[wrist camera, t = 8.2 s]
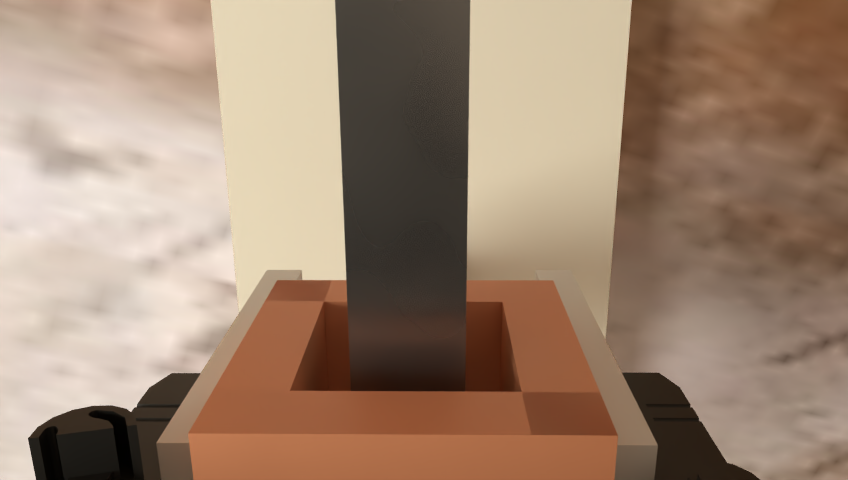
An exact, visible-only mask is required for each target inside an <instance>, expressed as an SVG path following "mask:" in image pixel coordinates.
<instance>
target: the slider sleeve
mask: <svg viewBox="0 0 848 480" xmlns="http://www.w3.org/2000/svg"><path fill="white" fill-rule="evenodd" d="M188 438H189V446H190V454H191V463H192V471H193V479H194V480H614V478H615V466H616V455H617V443H618V434H617V432H616V429H615V427H614V425H613V422H612V420H611V417H610V415H609V413H608V410H607V408H606V405H605V403H604V401H603V398H602V396H601V393H600V391H599V389H598V386H597V384H596V381H595V379H594V377H593V374H592V372H591V369H590V367H589V365H588V362H587V360H586V358H585V355H584V353H583V350H582V348H581V346H580V343H579V341H578V338H577V336H576V334H575V331H574V329H573V326H572V324H571V322H570V319H569V317H568V314H567V312H566V310H565V307H564V305H563V302H562V300H561V298H560V295H559V293H558V290H557V288H556V286H555V283H554V281H553V280H467V292H466V370H465V392H462V391H351V381H350V357H349V332H348V308H347V283H346V280H277V281H276V283H275V285H274V286H273V288H272V290H271V292H270V293H269V295H268V297H267V298H266V300H265V302H264V304H263V305H262V307H261V309H260V311H259V312H258V314H257V316H256V317H255V319H254V321H253V323H252V324H251V326H250V328H249V329H248V331H247V333H246V335H245V336H244V338H243V340H242V341H241V343H240V345H239V347H238V348H237V350H236V352H235V354H234V355H233V357H232V359H231V360H230V362H229V364H228V366H227V367H226V369H225V371H224V372H223V374H222V376H221V378H220V379H219V381H218V383H217V384H216V386H215V388H214V390H213V391H212V393H211V395H210V396H209V398H208V400H207V402H206V403H205V405H204V407H203V409H202V410H201V412H200V414H199V415H198V417H197V419H196V421H195V422H194V424H193V426H192V427H191V429H190V431H189V433H188Z"/></svg>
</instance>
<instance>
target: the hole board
mask: <svg viewBox="0 0 848 480" xmlns="http://www.w3.org/2000/svg"><path fill="white" fill-rule="evenodd" d="M631 5H632V0H470V60H469V138H468V215H467V280H535V272H536V270H571V271H572V273H573V275H574V277H575V279H576V281H577V283H578V285H579V287H580V289H581V291H582V293H583V295H584V297H585V299H586V302H587V304H588V306H589V308H590V310H591V312H592V314H593V316H594V318H595V320H596V322H597V324H598V326H599V328H600V330H601V332H602V334H603V336H604V338H605V340H606V329H607V316H608V303H609V290H610V277H611V264H612V251H613V238H614V226H615V213H616V200H617V187H618V174H619V161H620V148H621V135H622V122H623V109H624V96H625V83H626V70H627V57H628V44H629V31H630V18H631ZM211 9H212V20H213V31H214V43H215V54H216V65H217V76H218V87H219V98H220V109H221V120H222V131H223V142H224V153H225V165H226V176H227V187H228V198H229V209H230V220H231V231H232V242H233V253H234V264H235V276H236V287H237V298H238V309H239V313H240V311H241V310H242V308H243V306H244V305H245V303H246V302H247V300H248V299H249V297H250V296H251V294H252V292H253V291H254V289H255V288H256V286H257V285H258V283H259V281H260V280H261V278H262V277H263V275H264V274H265V272H266V271H267V270H302V280H346V259H345V234H344V210H343V185H342V161H341V136H340V112H339V87H338V63H337V38H336V14H335V0H211Z"/></svg>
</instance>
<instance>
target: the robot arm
mask: <svg viewBox="0 0 848 480" xmlns="http://www.w3.org/2000/svg"><path fill="white" fill-rule="evenodd" d="M277 280H302V270H267V271H266V272H265V274H264V275H263V277H262V278H261V280H260V281H259V283H258V285H257V286H256V288H255V289H254V291H253V292H252V294H251V296H250V297H249V299H248V300H247V302H246V303H245V305H244V306H243V308H242V310H241V311H240V313H239V314H238V316H237V317H236V319H235V321H234V322H233V324H232V325H231V327H230V328H229V330H228V332H227V333H226V335H225V336H224V338H223V339H222V341H221V342H220V344H219V346H218V347H217V349H216V350H215V352H214V353H213V355H212V357H211V358H210V360H209V361H208V363H207V364H206V366H205V367H204V369H203V371H202V372H201V373H172V374H170V375H168V376H167V377H165V378H164V379H162V380H161V381H159V382H158V383H156V384H155V385H153V386H151V387H150V388H149V389H148V390H147V392H146V393H145V394H144V396H143V397H142V398H141V400H140V401H139V402H138V404H137V408H134V409H133V410H132V412H130V411H128V410H127V409H125V408H120V407H115V406H90V407H85V408H81V409H76V410H71V411H69V412H66V413H64V414H61V415H59V416H56V417H53V418H52V419H50V420H48V421H47V422H45V423H44V424H42V425H41V426H39V427H37V429H36V430H35V431H34V432H33V433H32V435H31V436H30V437H29V438H28V440H29V445H30V451H31V456H32V461H33V466H34V471H35V476H36V480H194V479H193V471H192V463H191V454H190V446H189V438H188V433H189V431H190V429H191V427H192V426H193V424H194V422H195V421H196V419H197V417H198V415H199V414H200V412H201V410H202V409H203V407H204V405H205V403H206V402H207V400H208V398H209V396H210V395H211V393H212V391H213V390H214V388H215V386H216V384H217V383H218V381H219V379H220V378H221V376H222V374H223V372H224V371H225V369H226V367H227V366H228V364H229V362H230V360H231V359H232V357H233V355H234V354H235V352H236V350H237V348H238V347H239V345H240V343H241V341H242V340H243V338H244V336H245V335H246V333H247V331H248V329H249V328H250V326H251V324H252V323H253V321H254V319H255V317H256V316H257V314H258V312H259V311H260V309H261V307H262V305H263V304H264V302H265V300H266V298H267V297H268V295H269V293H270V292H271V290H272V288H273V286H274V285H275V283H276V281H277ZM535 280H553V281H554V283H555V286H556V288H557V290H558V293H559V295H560V298H561V300H562V302H563V305H564V307H565V310H566V312H567V314H568V317H569V319H570V322H571V324H572V326H573V329H574V331H575V334H576V336H577V338H578V341H579V343H580V346H581V348H582V350H583V353H584V355H585V358H586V360H587V362H588V365H589V367H590V369H591V372H592V374H593V377H594V379H595V381H596V384H597V386H598V389H599V391H600V393H601V396H602V398H603V401H604V403H605V405H606V408H607V410H608V413H609V415H610V417H611V420H612V422H613V425H614V427H615V429H616V432H617V434H618V443H617V455H616V466H615V478H614V480H760V479H758V478H757V477H756V476H755V475H754V474H752V473H750V472H748V471H746V470H744V469H742V468H740V467H738V466H736V465H733V464H729V463H727V462H726V461H725V459H724V457H723V456H722V454H721V453H720V451H719V449H718V448H717V446H716V445H715V443H714V441H713V440H712V438H711V437H710V435H709V433H708V432H707V430H706V429H705V427H704V426H703V424H702V422H699V418H698V416H697V414H696V413H695V411H694V410H693V408H690V403H689V402H688V400H687V398H686V397H685V395H684V394H683V392H682V390H681V389H680V387H678V386H677V385H675V384H674V383H673V382H671V381H670V380H668V379H667V378H665V377H664V376H663V375H661V374H660V373H622V372H621V370H620V368H619V366H618V364H617V362H616V360H615V358H614V356H613V354H612V352H611V350H610V348H609V346H608V344H607V342H606V340H605V338H604V336H603V334H602V332H601V330H600V328H599V326H598V324H597V322H596V320H595V318H594V316H593V314H592V312H591V310H590V308H589V306H588V304H587V302H586V299H585V297H584V295H583V293H582V291H581V289H580V287H579V285H578V283H577V281H576V279H575V277H574V275H573V273H572V271H571V270H536V272H535Z"/></svg>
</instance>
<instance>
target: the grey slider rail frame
mask: <svg viewBox="0 0 848 480" xmlns="http://www.w3.org/2000/svg"><path fill="white" fill-rule="evenodd" d="M335 14H336V38H337V63H338V87H339V112H340V136H341V161H342V185H343V210H344V234H345V259H346V283H347V308H348V332H349V357H350V381H351V391H462V392H465V370H466V292H467V215H468V138H469V60H470V0H335Z"/></svg>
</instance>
